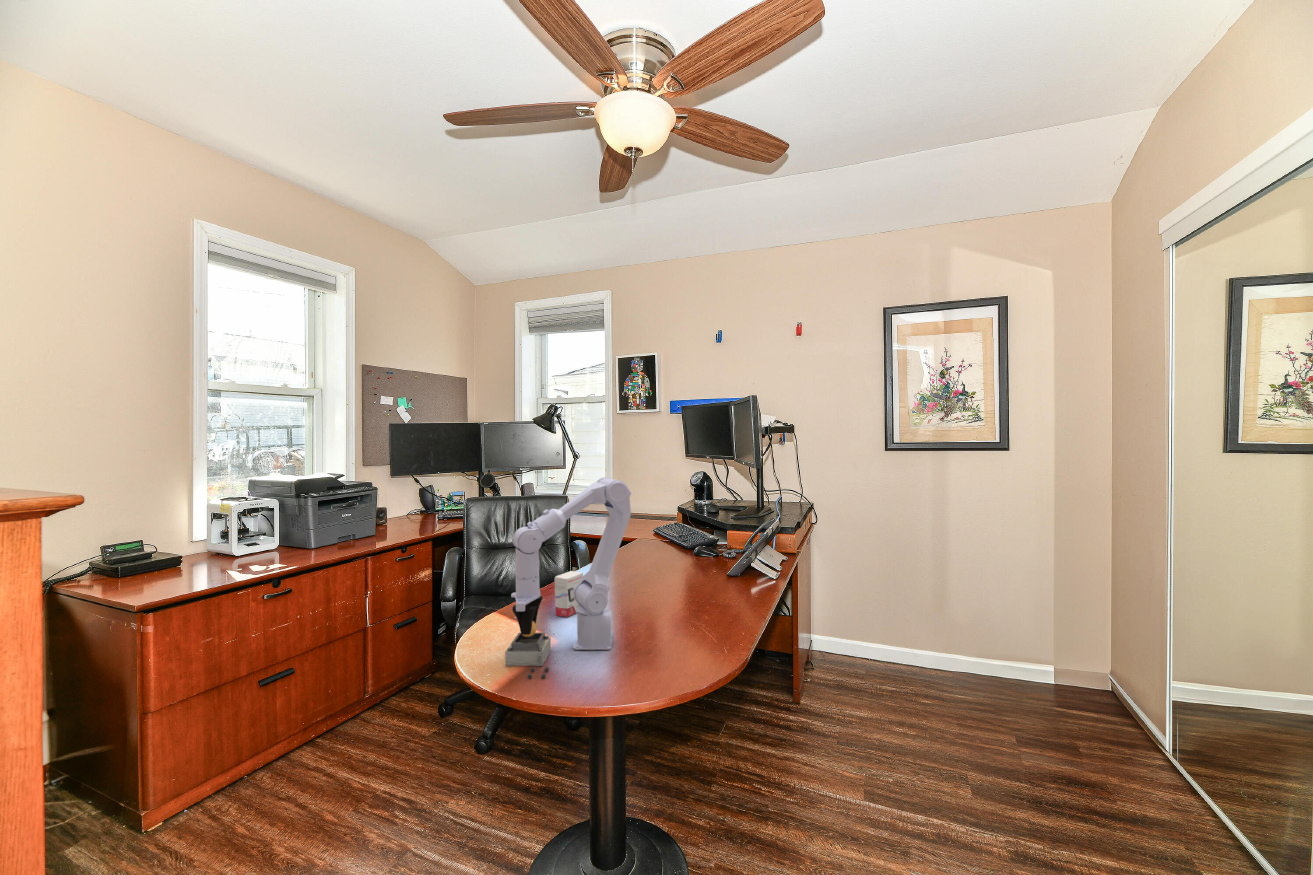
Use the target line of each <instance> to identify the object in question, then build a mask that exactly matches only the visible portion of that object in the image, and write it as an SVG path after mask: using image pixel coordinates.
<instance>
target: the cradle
mask: <svg viewBox="0 0 1313 875" xmlns="http://www.w3.org/2000/svg"><path fill="white" fill-rule="evenodd" d="M549 671H550V668H549V667H548V666H545V667H544V673H541V680H543V679H544V680H545V679H546V677H547V676H546V673H548V672H549ZM535 672H536V666H531V668H530V673H528V674H527V675H526V676H527V680H531V679H532V678H533V673H535Z"/></svg>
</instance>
